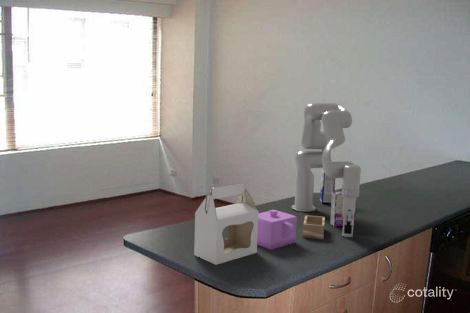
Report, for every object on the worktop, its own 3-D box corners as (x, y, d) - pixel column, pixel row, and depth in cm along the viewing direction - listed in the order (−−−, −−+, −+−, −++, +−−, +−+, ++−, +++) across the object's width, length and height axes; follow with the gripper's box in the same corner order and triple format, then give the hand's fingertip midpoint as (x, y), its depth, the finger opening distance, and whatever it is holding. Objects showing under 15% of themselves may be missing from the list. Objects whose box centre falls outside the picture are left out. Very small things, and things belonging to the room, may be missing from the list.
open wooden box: (304, 227, 242) (305, 215, 241) (324, 229, 240) (324, 216, 239) (302, 237, 227) (303, 224, 226) (323, 239, 226) (324, 226, 225)
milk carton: (333, 204, 287) (336, 169, 283) (321, 203, 287) (323, 168, 283) (331, 201, 294) (333, 166, 290) (319, 200, 294) (322, 166, 290)
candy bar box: (350, 223, 252) (352, 190, 249) (355, 226, 247) (357, 192, 244) (329, 224, 249) (331, 191, 246) (334, 227, 244) (336, 193, 241)
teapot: (262, 231, 235) (263, 201, 233) (304, 245, 217) (305, 213, 214) (237, 237, 225) (238, 206, 223) (279, 253, 207) (280, 219, 204)
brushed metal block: (342, 233, 235) (343, 214, 233) (352, 234, 234) (353, 215, 232) (342, 236, 230) (343, 217, 229) (352, 237, 229) (353, 218, 228)
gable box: (235, 244, 216) (237, 178, 212) (257, 252, 207) (260, 184, 202) (193, 255, 201) (194, 185, 197) (215, 265, 192) (217, 192, 187)
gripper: (341, 187, 238) (338, 225, 241) (342, 196, 221) (339, 236, 224) (358, 188, 236) (355, 227, 239) (359, 197, 220) (356, 238, 223)
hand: (347, 231), depth 232 cm, fingers closed on brushed metal block, 4 cm apart
